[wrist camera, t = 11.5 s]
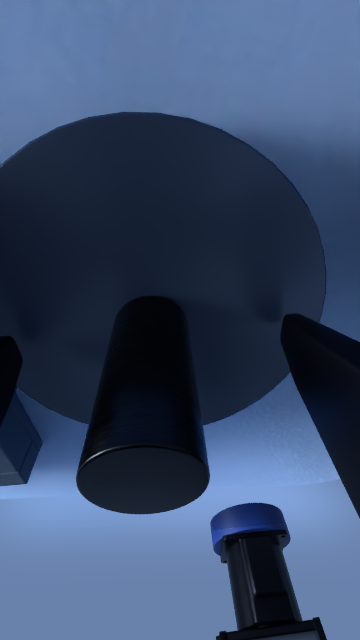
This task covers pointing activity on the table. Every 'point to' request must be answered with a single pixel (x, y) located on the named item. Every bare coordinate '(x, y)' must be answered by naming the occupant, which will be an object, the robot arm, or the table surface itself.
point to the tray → (17, 446)
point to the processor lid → (151, 291)
